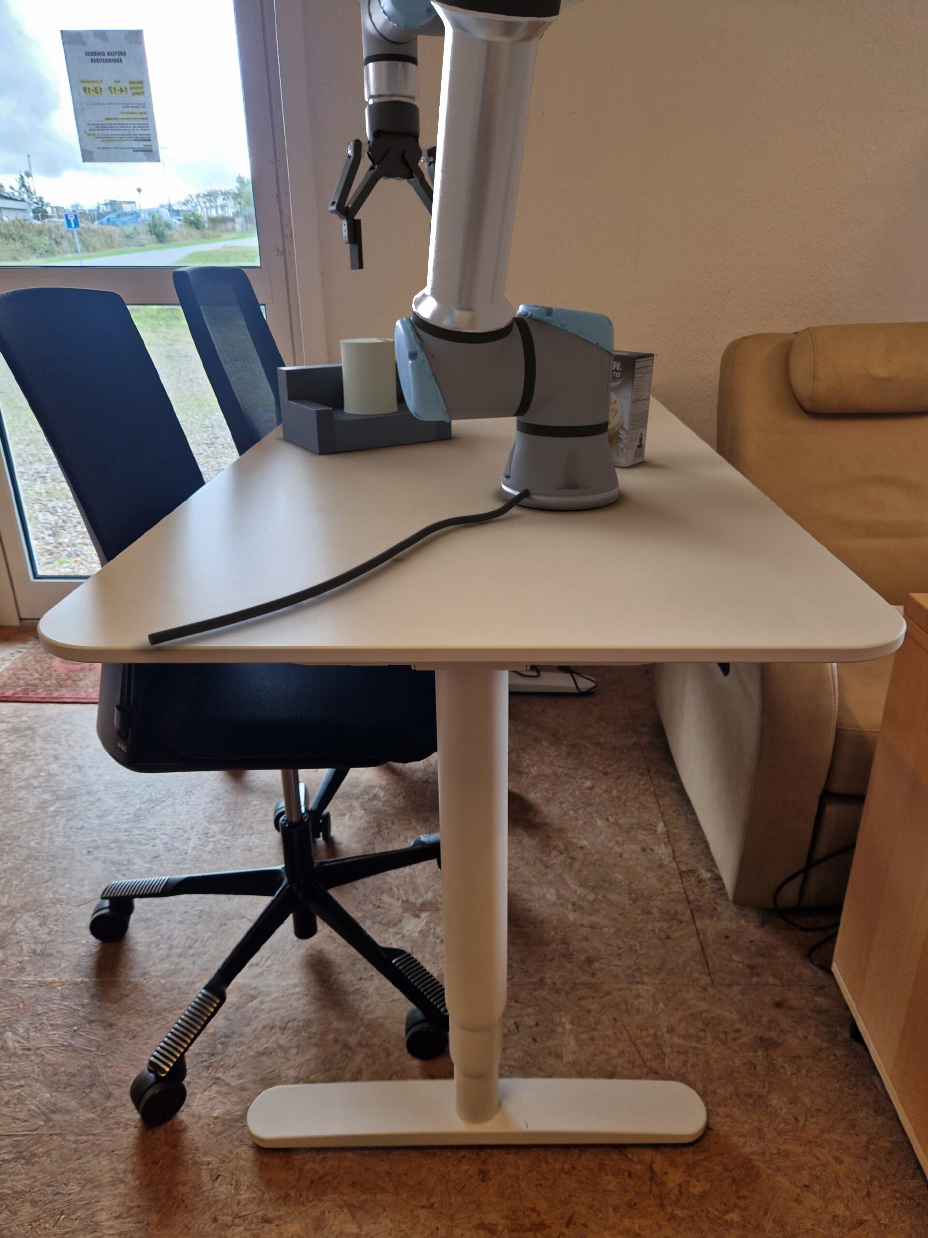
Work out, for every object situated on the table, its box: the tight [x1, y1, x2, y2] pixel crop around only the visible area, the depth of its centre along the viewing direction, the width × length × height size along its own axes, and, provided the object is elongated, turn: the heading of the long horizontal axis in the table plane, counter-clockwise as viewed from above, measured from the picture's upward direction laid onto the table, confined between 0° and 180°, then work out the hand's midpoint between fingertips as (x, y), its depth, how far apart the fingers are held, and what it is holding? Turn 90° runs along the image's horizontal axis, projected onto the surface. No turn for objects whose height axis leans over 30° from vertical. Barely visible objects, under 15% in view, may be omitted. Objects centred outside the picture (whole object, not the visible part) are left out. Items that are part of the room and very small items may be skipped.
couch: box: [276, 359, 453, 455], centre depth 141 cm, size 16×25×12 cm, turn 122°
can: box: [339, 336, 398, 415], centre depth 138 cm, size 9×9×12 cm
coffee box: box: [608, 349, 655, 468], centre depth 124 cm, size 9×6×16 cm
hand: (398, 269), depth 122 cm, fingers open, 13 cm apart
